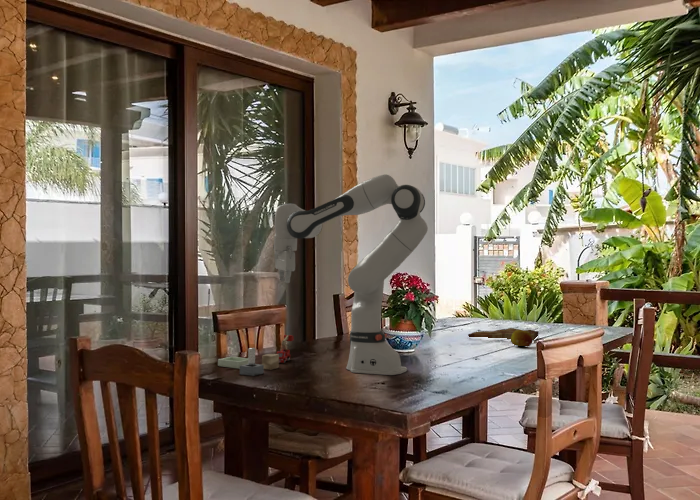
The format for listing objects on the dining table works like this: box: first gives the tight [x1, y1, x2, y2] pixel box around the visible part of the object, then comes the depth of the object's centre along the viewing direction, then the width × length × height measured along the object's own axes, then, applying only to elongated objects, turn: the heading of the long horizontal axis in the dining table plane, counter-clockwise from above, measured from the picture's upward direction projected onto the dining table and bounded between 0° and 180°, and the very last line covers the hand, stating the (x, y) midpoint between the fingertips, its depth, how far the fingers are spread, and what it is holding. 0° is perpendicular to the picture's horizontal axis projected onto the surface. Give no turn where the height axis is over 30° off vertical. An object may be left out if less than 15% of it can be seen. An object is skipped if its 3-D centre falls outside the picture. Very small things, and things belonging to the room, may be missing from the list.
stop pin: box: [247, 347, 256, 366], centre depth 248 cm, size 2×2×9 cm
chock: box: [261, 353, 280, 371], centre depth 260 cm, size 4×5×5 cm
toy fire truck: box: [276, 334, 295, 364], centre depth 278 cm, size 3×14×10 cm, turn 168°
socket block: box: [239, 363, 265, 377], centre depth 248 cm, size 6×6×3 cm
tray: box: [217, 356, 248, 370], centre depth 264 cm, size 10×8×2 cm
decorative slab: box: [467, 327, 539, 340], centre depth 353 cm, size 32×22×5 cm
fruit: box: [510, 329, 533, 347], centre depth 322 cm, size 10×9×8 cm
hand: (284, 282), depth 268 cm, fingers open, 8 cm apart
